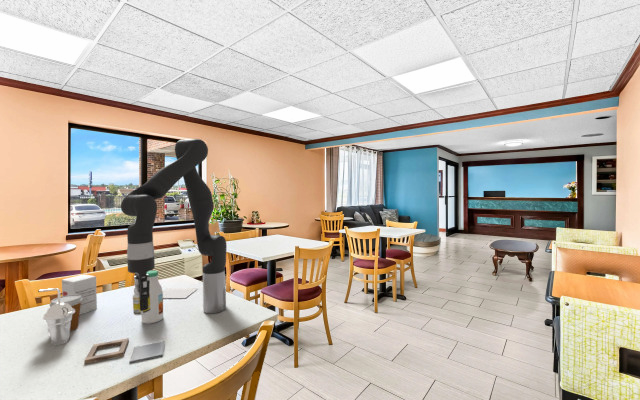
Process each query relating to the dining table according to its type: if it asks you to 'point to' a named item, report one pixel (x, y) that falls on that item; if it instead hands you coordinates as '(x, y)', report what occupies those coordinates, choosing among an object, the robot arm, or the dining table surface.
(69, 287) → the supplement box
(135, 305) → the supplement bottle
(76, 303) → the disposable coffee cup
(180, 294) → the white flat square
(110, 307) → the dining table surface
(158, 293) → the milk bottle
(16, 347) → the dining table surface
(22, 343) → the dining table surface
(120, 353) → the wooden square frame
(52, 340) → the cup with straw
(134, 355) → the coaster
